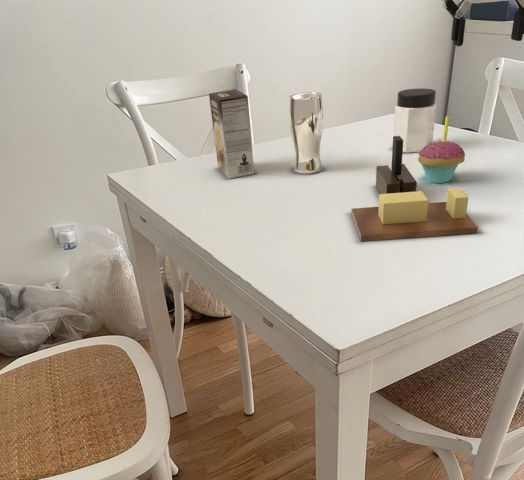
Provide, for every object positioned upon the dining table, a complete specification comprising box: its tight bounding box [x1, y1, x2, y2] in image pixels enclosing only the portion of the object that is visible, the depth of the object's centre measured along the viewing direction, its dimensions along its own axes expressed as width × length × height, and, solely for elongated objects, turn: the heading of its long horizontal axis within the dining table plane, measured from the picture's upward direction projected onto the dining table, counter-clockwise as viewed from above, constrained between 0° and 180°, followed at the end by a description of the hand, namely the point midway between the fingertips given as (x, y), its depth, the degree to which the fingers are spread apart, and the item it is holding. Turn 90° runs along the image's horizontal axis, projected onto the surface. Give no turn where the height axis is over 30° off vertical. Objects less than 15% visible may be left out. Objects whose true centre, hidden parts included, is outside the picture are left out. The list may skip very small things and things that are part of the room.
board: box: [350, 201, 479, 242], centre depth 89 cm, size 18×12×1 cm, turn 89°
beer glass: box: [288, 91, 324, 175], centre depth 114 cm, size 7×7×15 cm
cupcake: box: [417, 111, 466, 184], centre depth 102 cm, size 9×8×12 cm
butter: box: [377, 190, 429, 224], centre depth 88 cm, size 7×4×4 cm, turn 90°
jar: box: [393, 88, 437, 154], centre depth 122 cm, size 9×8×12 cm
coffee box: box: [208, 89, 255, 180], centre depth 117 cm, size 9×6×16 cm
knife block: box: [375, 163, 418, 195], centre depth 99 cm, size 5×11×4 cm, turn 179°
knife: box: [390, 135, 404, 193], centre depth 98 cm, size 1×7×10 cm, turn 0°
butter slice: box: [445, 187, 469, 219], centre depth 87 cm, size 2×4×4 cm, turn 0°
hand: (486, 42), depth 91 cm, fingers open, 9 cm apart
